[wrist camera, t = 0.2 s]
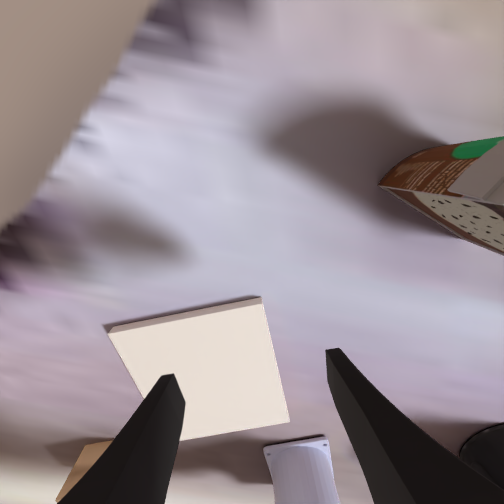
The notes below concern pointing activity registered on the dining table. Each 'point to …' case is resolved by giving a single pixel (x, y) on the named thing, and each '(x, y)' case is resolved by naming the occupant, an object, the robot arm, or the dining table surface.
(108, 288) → the dining table surface
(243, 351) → the painted board
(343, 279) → the dining table surface
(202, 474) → the dining table surface
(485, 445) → the milk frother
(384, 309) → the dining table surface
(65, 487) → the oak cube
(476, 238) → the food container
